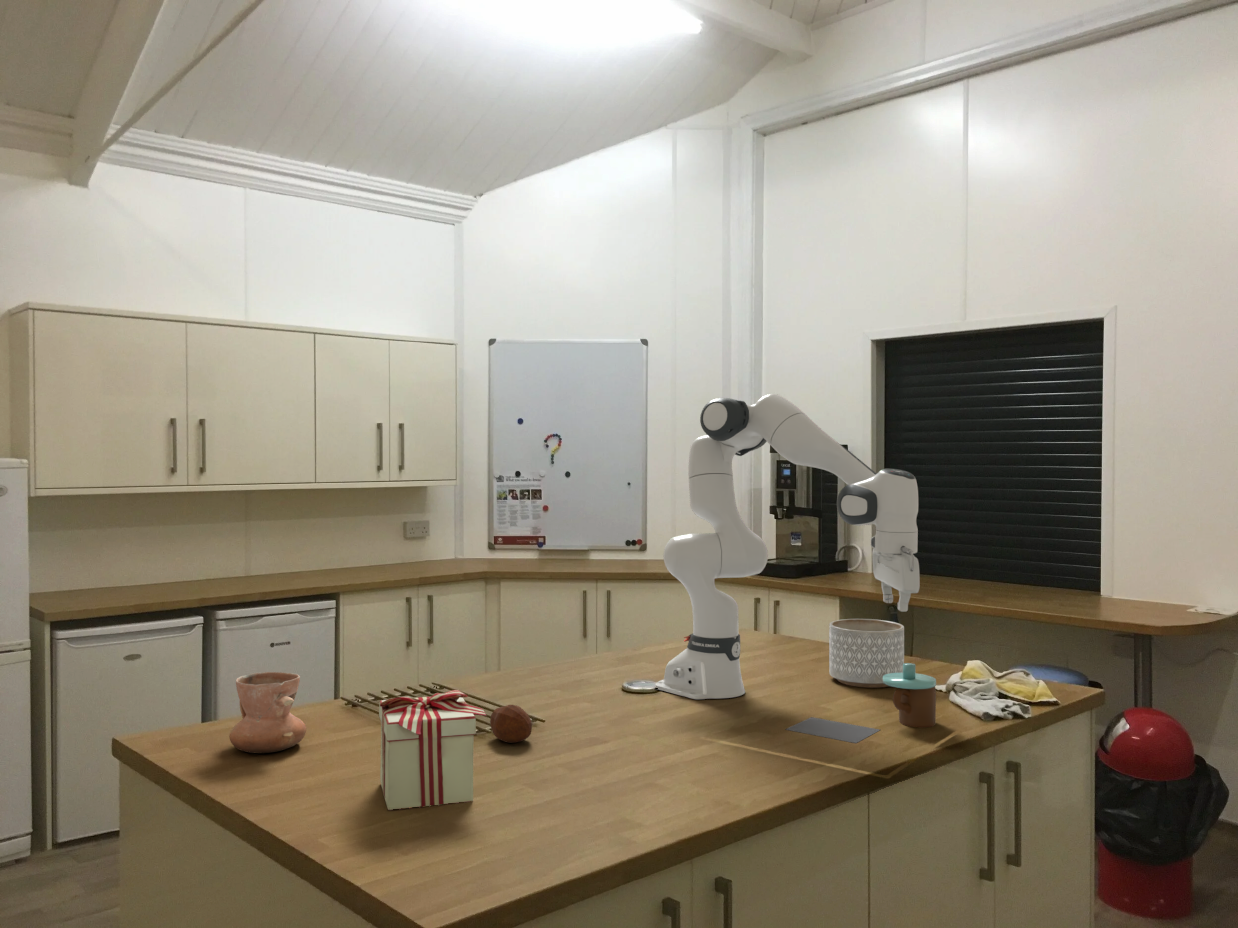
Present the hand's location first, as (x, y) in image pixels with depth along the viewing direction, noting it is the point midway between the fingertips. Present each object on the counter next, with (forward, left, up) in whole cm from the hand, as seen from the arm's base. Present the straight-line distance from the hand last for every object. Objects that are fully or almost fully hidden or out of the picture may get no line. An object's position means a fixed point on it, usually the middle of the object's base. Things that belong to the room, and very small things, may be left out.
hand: (895, 606), depth 217 cm
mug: (+5, -2, -25) cm, 26 cm away
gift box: (-45, -93, -25) cm, 107 cm away
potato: (-56, -62, -25) cm, 87 cm away
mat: (-7, -16, -25) cm, 31 cm away
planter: (-21, +32, -25) cm, 46 cm away
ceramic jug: (-92, -95, -25) cm, 135 cm away
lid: (+4, -2, -16) cm, 16 cm away
